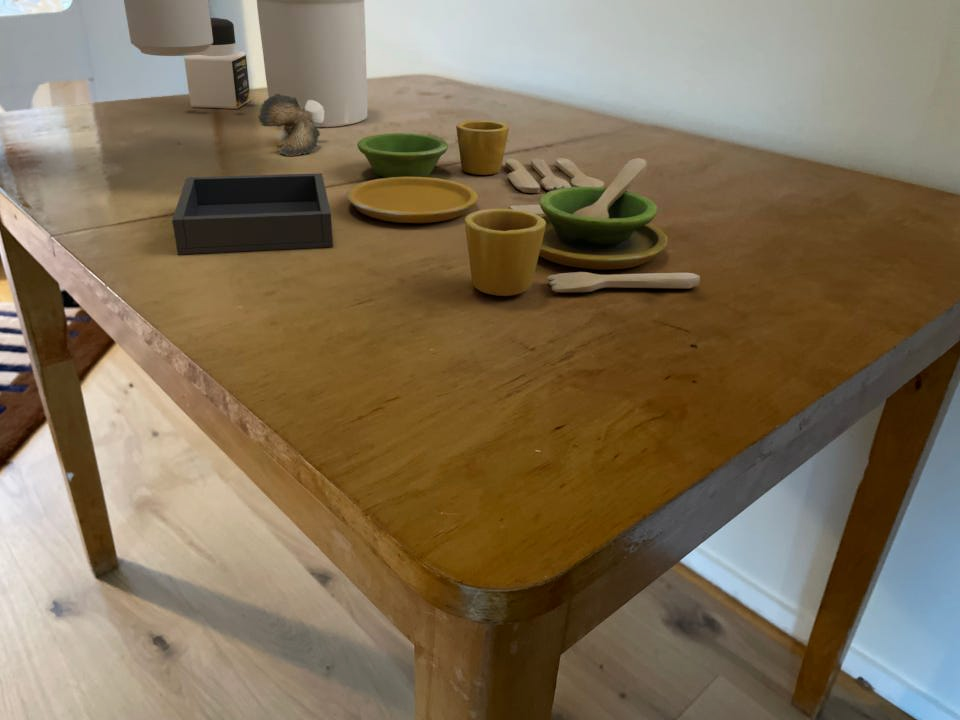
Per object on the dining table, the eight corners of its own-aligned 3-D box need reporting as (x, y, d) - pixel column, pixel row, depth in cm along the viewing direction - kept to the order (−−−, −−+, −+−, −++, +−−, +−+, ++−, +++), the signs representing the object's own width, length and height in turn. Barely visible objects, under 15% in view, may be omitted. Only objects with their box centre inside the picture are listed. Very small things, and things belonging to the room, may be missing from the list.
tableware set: (715, 298, 60) (731, 219, 57) (350, 311, 56) (345, 226, 53) (575, 160, 96) (579, 107, 93) (345, 162, 91) (342, 106, 88)
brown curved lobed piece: (257, 128, 100) (244, 131, 91) (285, 80, 98) (274, 77, 90) (309, 162, 102) (301, 168, 93) (338, 115, 100) (332, 116, 92)
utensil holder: (322, 134, 104) (313, -12, 95) (243, 118, 110) (228, -19, 102) (391, 116, 115) (388, -15, 106) (315, 103, 121) (307, -22, 113)
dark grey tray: (177, 254, 64) (172, 219, 63) (190, 207, 75) (186, 177, 73) (332, 247, 67) (330, 213, 65) (324, 203, 78) (322, 173, 76)
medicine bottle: (238, 109, 116) (228, 21, 110) (190, 107, 116) (177, 19, 110) (251, 100, 122) (242, 17, 116) (205, 98, 122) (194, 15, 116)
